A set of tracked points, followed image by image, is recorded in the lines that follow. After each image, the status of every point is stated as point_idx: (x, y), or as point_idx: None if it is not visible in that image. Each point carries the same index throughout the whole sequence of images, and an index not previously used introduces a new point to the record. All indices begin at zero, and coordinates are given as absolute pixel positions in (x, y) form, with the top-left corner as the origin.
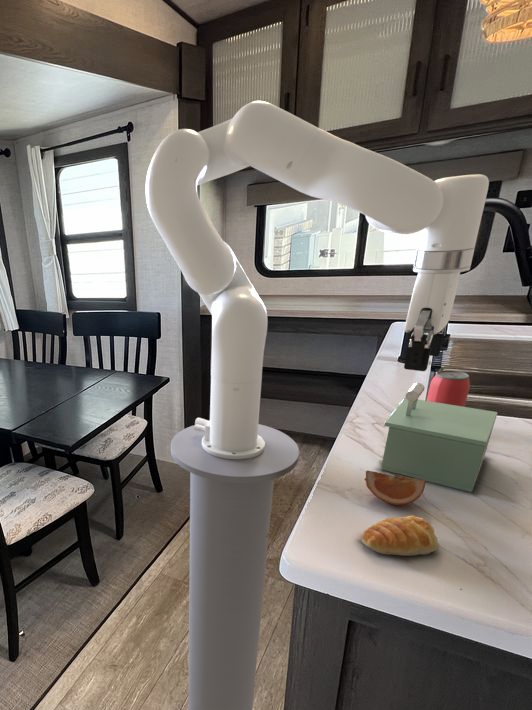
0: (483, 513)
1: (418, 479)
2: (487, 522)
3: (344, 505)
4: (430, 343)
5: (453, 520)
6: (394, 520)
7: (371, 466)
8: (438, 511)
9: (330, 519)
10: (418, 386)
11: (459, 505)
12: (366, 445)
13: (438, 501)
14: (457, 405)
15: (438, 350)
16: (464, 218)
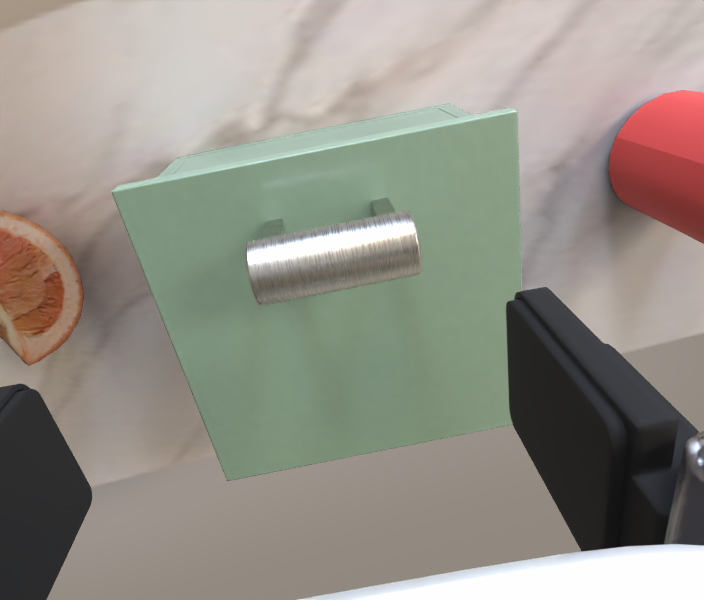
0: (169, 411)
1: (17, 352)
2: (137, 426)
3: None
4: (552, 438)
5: (80, 387)
6: None
7: (173, 123)
8: (88, 355)
9: None
10: (356, 275)
11: (159, 372)
12: (325, 21)
13: (135, 337)
14: (686, 234)
15: (529, 450)
16: None
